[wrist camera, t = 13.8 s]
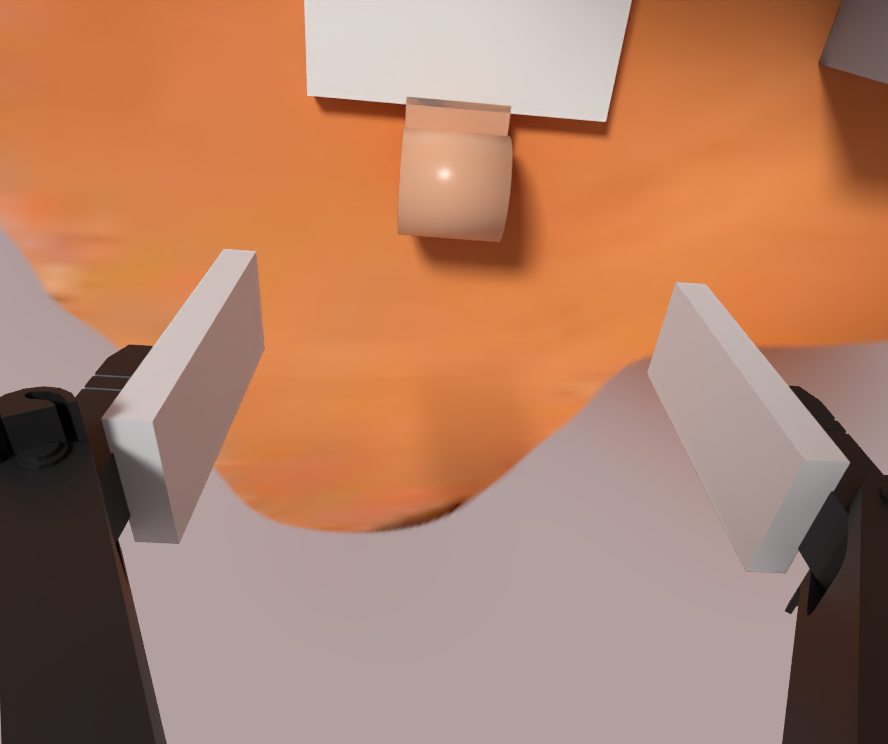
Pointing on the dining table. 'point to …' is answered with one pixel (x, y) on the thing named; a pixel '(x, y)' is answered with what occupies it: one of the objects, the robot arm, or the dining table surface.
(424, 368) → the dining table surface
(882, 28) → the tub
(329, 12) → the lid
